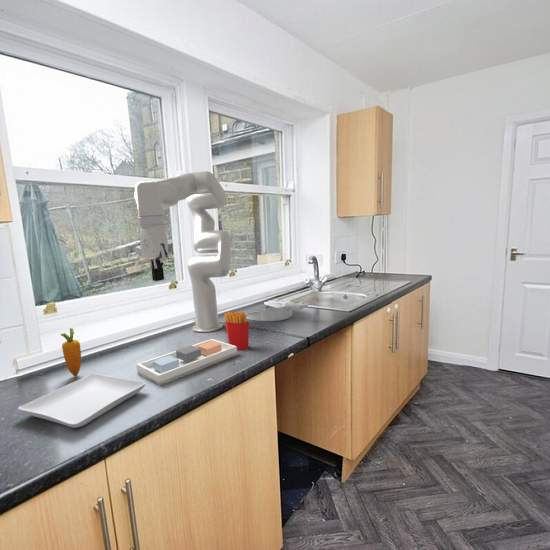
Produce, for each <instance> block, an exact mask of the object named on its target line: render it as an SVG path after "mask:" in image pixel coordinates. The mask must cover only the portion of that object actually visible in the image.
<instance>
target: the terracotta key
mask: <svg viewBox="0 0 550 550" xmlns="http://www.w3.org/2000/svg"><path fill="white" fill-rule="evenodd" d="M198 348H200V349H201V354H203V355H205V356H209V355H212V354H215V353H217V352H220V351H222V349H221V344H218V343H215V342H212V341H211V342H208V343H205V344H202V345H199V346H198Z"/></svg>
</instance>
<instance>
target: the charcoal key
mask: <svg viewBox="0 0 550 550" xmlns="http://www.w3.org/2000/svg"><path fill="white" fill-rule="evenodd" d="M175 351H176V357H177V358H178V359H181V360H183V361H186V362H187V361H189V360H192V359H195V358H197V357H200V356H201V349H200V348H197V347H194V346H192V345H188V346H185V347H182V348H179V349H176V350H175Z"/></svg>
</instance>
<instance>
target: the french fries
mask: <svg viewBox="0 0 550 550" xmlns="http://www.w3.org/2000/svg"><path fill="white" fill-rule="evenodd" d="M246 314H247V313H245V312H244V311H243V312H242V311H239V312H238V311H233V312H231V311H225V312H224V313H223V315H224V318H225V321H224V323H225V328H226V333H227V334H226V335H227V341H228V344H231V345H234V346H237V351H238V350H239V351H242V350H243V351H244V350H246V349H248V348H249V333H250V332H249V330H250V327H249V325H250V323H249V321H250V320H248V319H247V315H246Z"/></svg>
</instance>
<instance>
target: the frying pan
mask: <svg viewBox="0 0 550 550" xmlns="http://www.w3.org/2000/svg"><path fill="white" fill-rule="evenodd" d="M263 305H264V309H262V310H257V311H251V312H247V313H245V314H246V315H247V320H248V321H254V320H255V322H280V321H284V320H288V319H289V318H291V317H292V316H293V310H297V311H302V310H303V309H304V308H308V307H309V304H308V303H305V302H302V301H295V302H294V301H291V302H285V303H282V304H280V303H277V302H274V301H264V302H263Z"/></svg>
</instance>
